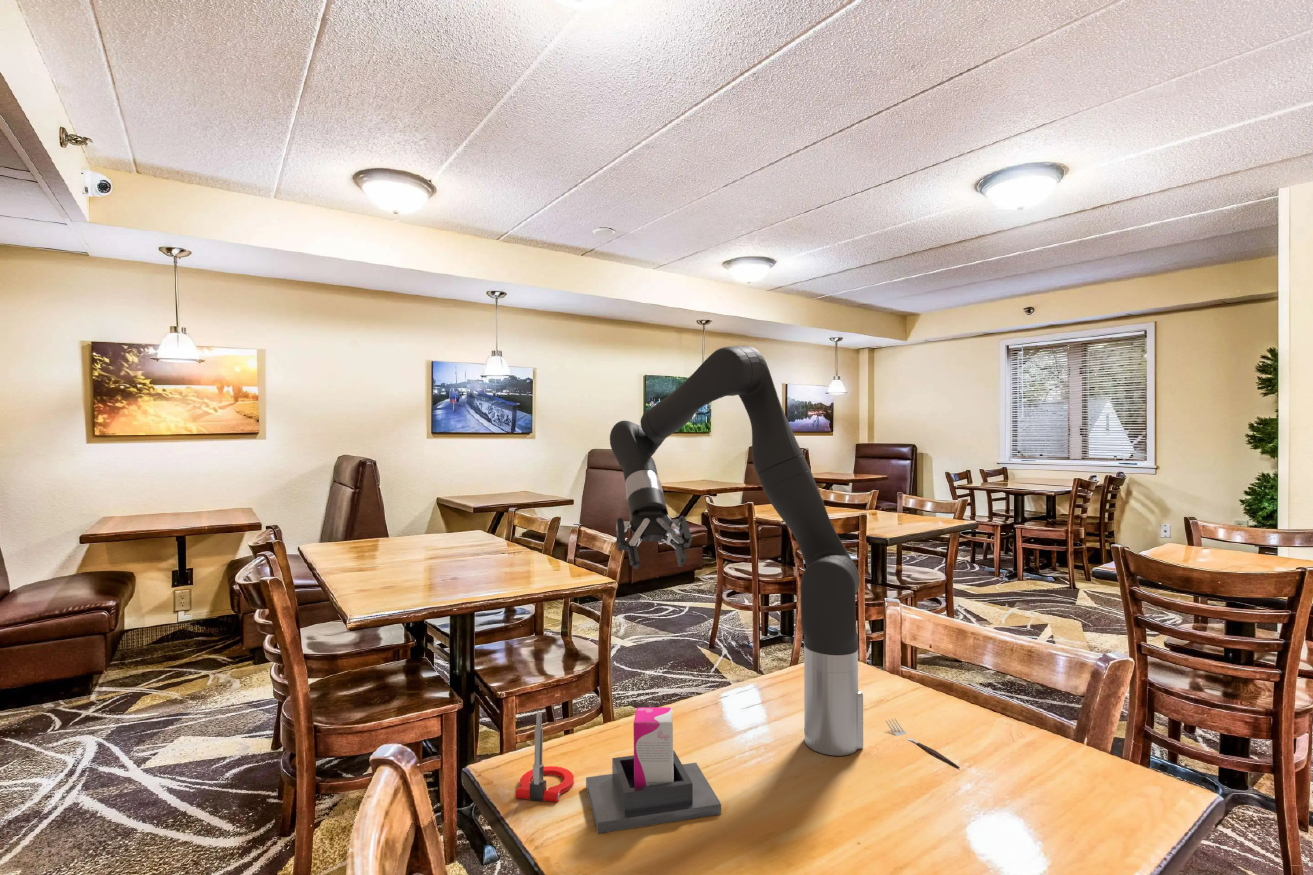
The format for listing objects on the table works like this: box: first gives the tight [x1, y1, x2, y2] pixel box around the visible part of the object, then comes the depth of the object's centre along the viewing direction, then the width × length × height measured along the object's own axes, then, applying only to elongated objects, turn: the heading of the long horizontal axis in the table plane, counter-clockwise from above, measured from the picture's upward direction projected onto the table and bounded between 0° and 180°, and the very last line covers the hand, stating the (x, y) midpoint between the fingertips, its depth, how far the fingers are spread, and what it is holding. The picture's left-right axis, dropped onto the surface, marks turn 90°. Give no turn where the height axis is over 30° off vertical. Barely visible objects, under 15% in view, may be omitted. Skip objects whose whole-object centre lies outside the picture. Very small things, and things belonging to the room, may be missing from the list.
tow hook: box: [515, 711, 575, 803], centre depth 100 cm, size 8×13×9 cm
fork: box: [885, 718, 960, 769], centre depth 112 cm, size 3×16×2 cm, turn 22°
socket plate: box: [585, 749, 722, 834], centre depth 96 cm, size 18×12×4 cm, turn 104°
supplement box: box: [633, 706, 674, 788], centre depth 96 cm, size 6×6×12 cm
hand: (659, 565), depth 119 cm, fingers open, 8 cm apart
